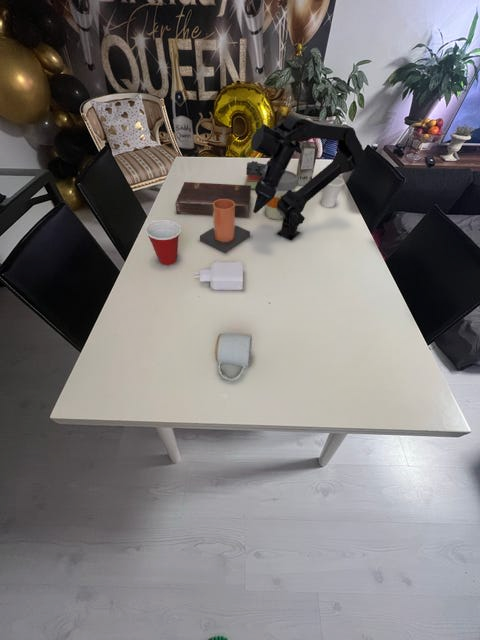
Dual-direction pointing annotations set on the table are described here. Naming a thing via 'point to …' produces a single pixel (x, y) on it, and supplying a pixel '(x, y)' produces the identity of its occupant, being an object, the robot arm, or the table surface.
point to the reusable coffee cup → (281, 194)
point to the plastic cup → (164, 239)
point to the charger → (223, 275)
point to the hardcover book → (252, 180)
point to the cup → (224, 220)
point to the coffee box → (306, 162)
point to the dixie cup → (331, 192)
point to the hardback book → (212, 198)
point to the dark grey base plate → (225, 246)
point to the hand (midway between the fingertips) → (256, 209)
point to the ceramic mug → (233, 351)
